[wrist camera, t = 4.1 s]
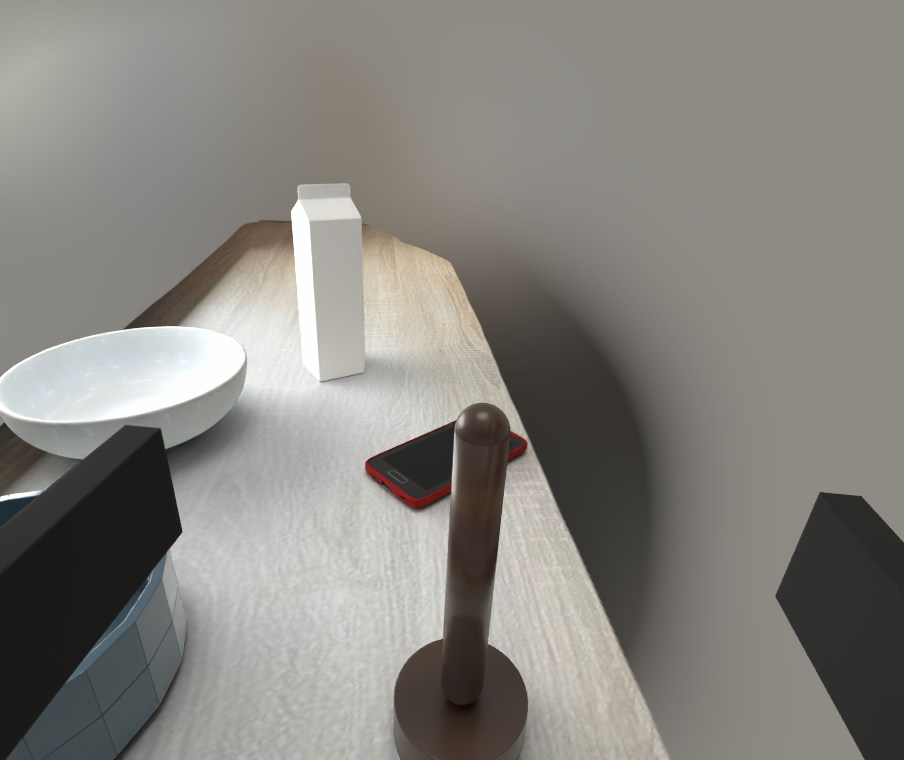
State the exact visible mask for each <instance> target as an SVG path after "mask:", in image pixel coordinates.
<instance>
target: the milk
mask: <svg viewBox="0 0 904 760" xmlns="http://www.w3.org/2000/svg"><path fill="white" fill-rule="evenodd" d="M291 215H292V228H293V240H294V253H295V265H296V278H297V290H298V303H299V316H300V328H301V341H302V353H303V363H304V365H305V366H306V367H307V368H308V369H309V370H310V371H311V373H312V374H313V375H314V376H315V377H316V378H317V379H318V380H319V381H320V382H322V381H326V380H331V379H336V378H341V377H345V376H350V375H355V374H360V373H364V372H365V342H364V303H363V263H362V224H361V216H360V214H359V212H358V211H357V209H356V207H355V205H354V203H353V201H352V200H351V196H350V185H349V184H311V185H299V186H298V201H297V203H296V205H295V206H294V208H293V209H292V211H291Z"/></svg>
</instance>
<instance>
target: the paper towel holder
mask: <svg viewBox="0 0 904 760" xmlns="http://www.w3.org/2000/svg"><path fill="white" fill-rule="evenodd" d="M509 440H510V425H509V421H508V419H507V417H506V415H505V414H504V413H503V411H502V410H501V409H499V408H498V407H496V406H494V405H492V404H488V403H476V404H473V405H471V406H469V407H467V408H466V409H464V410H463V411H462V412H461V414H460V415H459V416H458V418H457V421H456V424H455V431H454V449H453V467H452V485H451V503H450V522H449V540H448V558H447V576H446V594H445V612H444V630H443V639H441V640H437V641H434V642H432V643H430V644H427V645H426V646H424V647H422V648H421V649H419V650H418V651H417V652H415V653H414V654H413V655H412V656H411V657H410V658H409V659H408V661H407V662H406V663H405V665H404V666H403V668H402V669H401V671H400V673H399V676H398V678H397V681H396V685H395V690H394V738H395V744H396V747H397V751H398V753H399V756H400V758H401V760H518V758H519V755H520V752H521V748H522V742H523V736H524V730H525V724H526V718H527V712H528V698H527V692H526V687H525V684H524V682H523V679H522V677H521V675H520V673H519V671H518V670H517V668H516V667H515V666H514V664H513V663H512V662H511V661H510V660H509V659H508V657H506V656H505V655H504V654H503V653H502V652H500V651H499V650H498V649H496V648H494V647H493V646H491V645H489V644H488V636H489V626H490V617H491V608H492V599H493V589H494V580H495V571H496V561H497V552H498V543H499V533H500V524H501V515H502V505H503V496H504V487H505V478H506V468H507V459H508V450H509Z"/></svg>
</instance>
